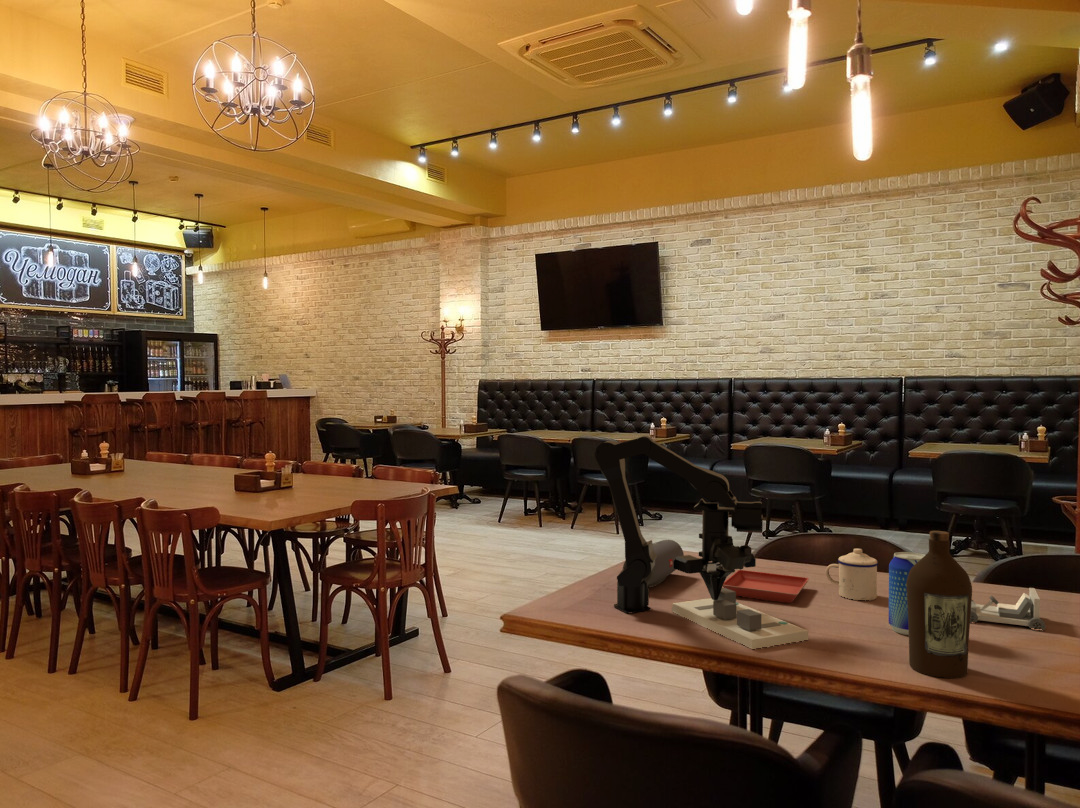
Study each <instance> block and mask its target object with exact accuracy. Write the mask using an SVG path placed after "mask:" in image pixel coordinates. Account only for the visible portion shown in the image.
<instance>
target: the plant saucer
mask: <svg viewBox="0 0 1080 808" xmlns="http://www.w3.org/2000/svg"><path fill="white" fill-rule="evenodd" d="M809 580H810V578H809V577H804V576H797V575H795V576H794V575H788V574H779V573H771V572H762V571H755V570H754V571H753V570H746V569H741V570H740V569H737V570H736V571H735V572H733V573H732V575H730V576H728V578H726V580H725V582H724V584H723V586H722V588H727V589H729V590H732V591H735V592H736V597H737V596H742V597H741V598H745V597H748V598H747V599H753V598H756V599H755V600H760V599H762V600H763V601H768V600H769V602H776V601H779V602H778V603H784V602H787V603H786V604H792V603H793V601H795V599H796V598H797V597H798V595H799V593H801V591H802V590H803V589H804V588H805V586H806V585H807V583H808V581H809ZM762 600H761V601H762Z"/></svg>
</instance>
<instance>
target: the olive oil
mask: <svg viewBox="0 0 1080 808" xmlns="http://www.w3.org/2000/svg"><path fill="white" fill-rule="evenodd" d="M949 537H950V533H949V532H948V531H944V530H943V531H941V530H930V531H929V538H928V552H927V553H926V554H924V555H925V556H924V557H923V558H922V559H921V560H919V561H918V562H917V563H916V564H915V565H914V566H913V567H912V568H911V570H910V571H909V574H908V577H907V582H906V587H907V606H908V629H909V635H908V657H909V659H908V660H909V667H910V668H911V669H913V670H914V671H915V672H918V673H919V674H924V675H926V674H927V676H929V677H935V676H936V678H941V677H944V678H943V679H958V678H957V677H959V678H962V676H963V677H965V676H967V674H968V669H969V667H968V665H969V642H970V627H971V623H970V614H971V601H972V600H973V584H972V581H970V580H971V578H970V576H969V574H968V572H967V571H966V570H965V568H963V566H962V565H960V563H958V561H957V560H956V559H955V558H954V557H953V556H952V554H951V553H950V547H951V546H950V544H951V541H950V539H949Z"/></svg>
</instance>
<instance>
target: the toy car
mask: <svg viewBox="0 0 1080 808" xmlns="http://www.w3.org/2000/svg"><path fill="white" fill-rule="evenodd" d="M970 581H971V579H970ZM971 582H972V581H971ZM1028 591H1029V592H1028V594H1027V593H1025V592H1023V593H1022V595H1021V596H1020V598H1018V601H1017V602H1016V604H1007V603H1000V602H999V601H998V600H997V598H996V597H994V596H993V595H990V596H989V599H990V601H988V602H987V603H986V604H979V603H976V601H974V600H973V599H972V601H971V614H970V622H976V623H977V622H978V621H983V622H990V623H998V624H999V623H1001V624H1009V625H1018V626H1023V627H1024V626H1025V627H1029V629H1030V628H1034V629H1035V628H1037V629H1042V630H1044V631H1045V629H1046V623H1045V621H1044V620H1043V619H1041V618H1040V616H1041V615H1040V614H1041V613H1040V611H1041V599H1040V597H1039V595H1038V593H1037V591H1036V588H1034V587H1029V588H1028ZM993 603H994V605H992V604H993ZM995 605H996V606H995Z"/></svg>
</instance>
